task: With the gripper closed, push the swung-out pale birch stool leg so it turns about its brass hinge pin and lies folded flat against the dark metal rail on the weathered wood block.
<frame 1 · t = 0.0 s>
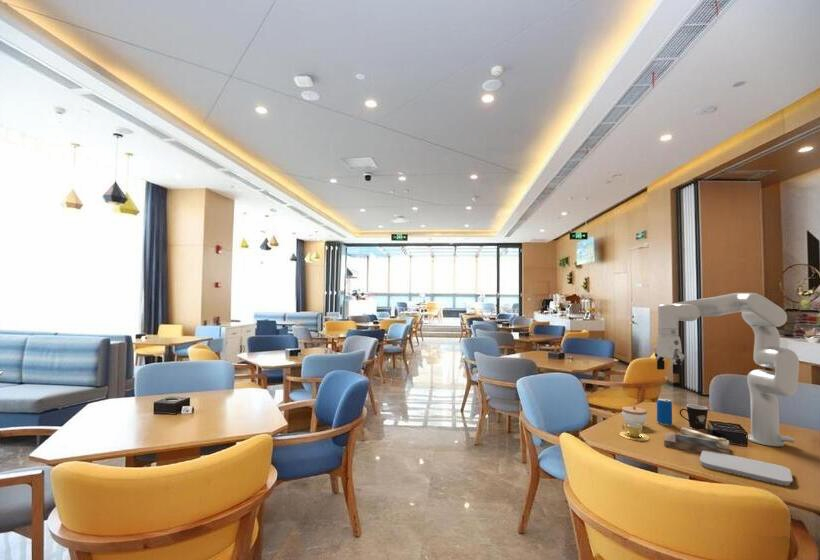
hand: (668, 371, 176), 31 cm above the table, tool pointing down, fingers open, 9 cm apart
weathered wood block: (695, 447, 171), on the table
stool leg: (703, 437, 171), point 5 cm above the table, hinge at -30.0°
beverage can: (664, 424, 203), on the table
cup: (634, 437, 184), on the table
lidded jar: (634, 425, 200), on the table
coffee mug: (693, 427, 198), on the table
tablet: (743, 471, 150), on the table
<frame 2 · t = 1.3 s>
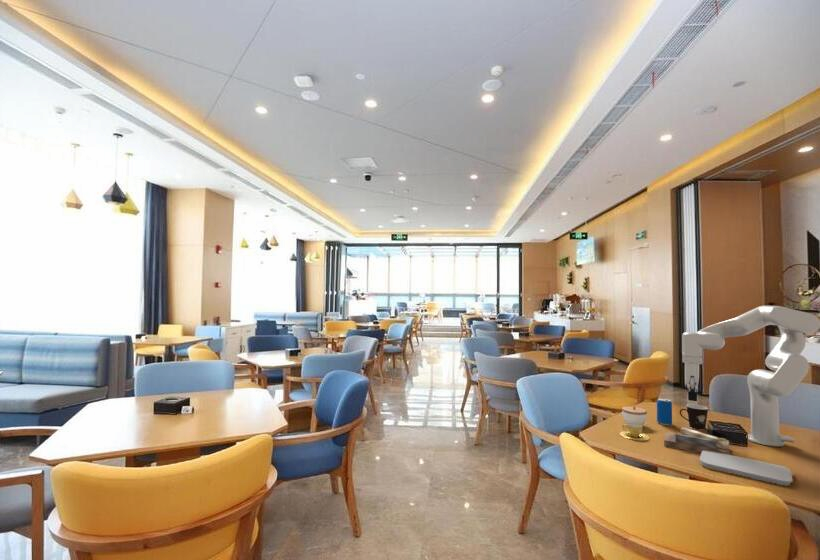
hand: (692, 398, 183), 18 cm above the table, tool pointing down, fingers open, 7 cm apart
nothing on the table moved.
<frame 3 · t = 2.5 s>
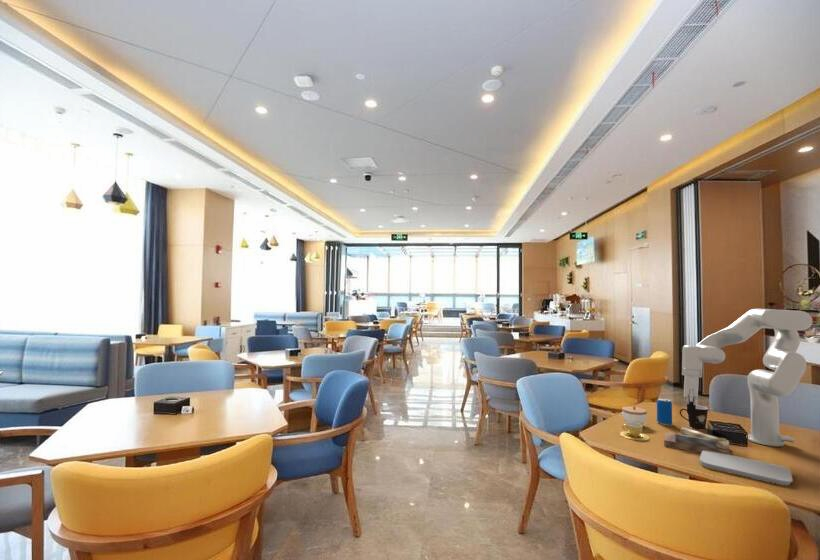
hand: (691, 413, 183), 11 cm above the table, tool pointing down, fingers closed
nothing on the table moved.
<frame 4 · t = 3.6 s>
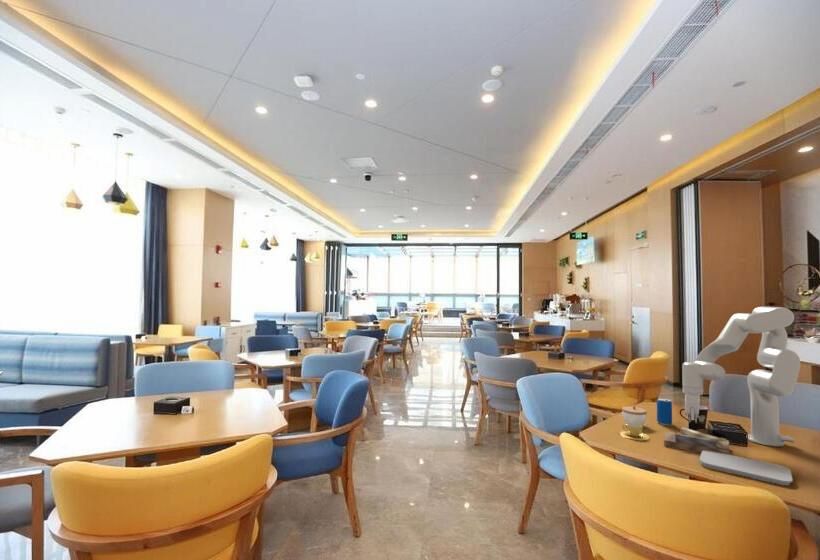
hand: (693, 430, 182), 4 cm above the table, tool pointing down, fingers closed
nothing on the table moved.
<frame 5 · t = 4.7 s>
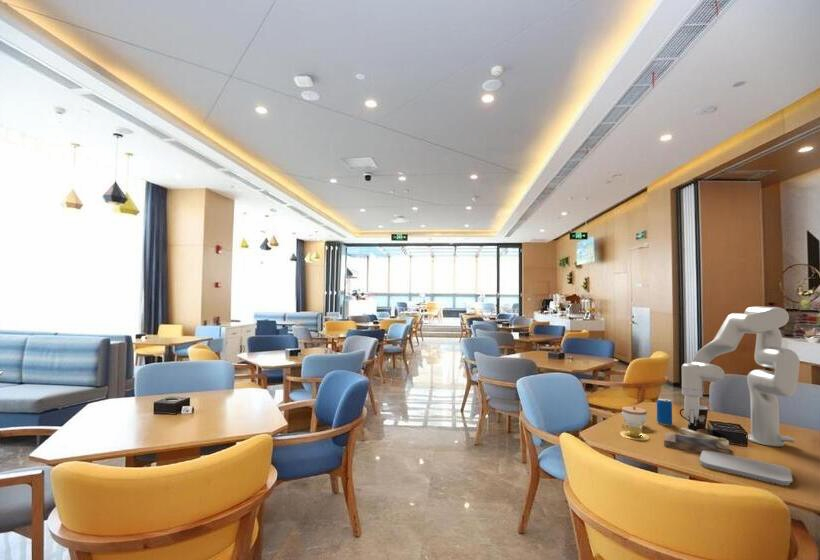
hand: (692, 433, 178), 4 cm above the table, tool pointing down, fingers closed
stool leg: (703, 437, 171), point 5 cm above the table, hinge at -28.0°, touching gripper
everything else where it was.
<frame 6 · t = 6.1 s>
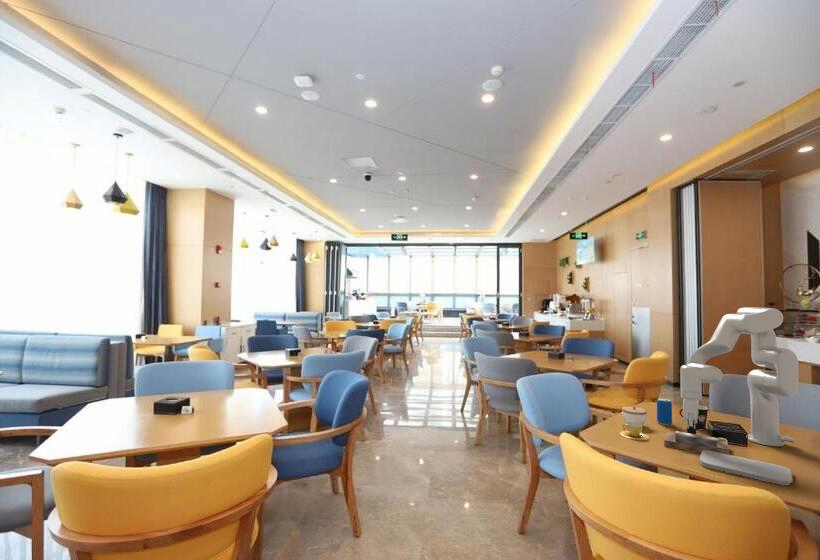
hand: (691, 437, 173), 4 cm above the table, tool pointing down, fingers closed
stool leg: (700, 439, 168), point 5 cm above the table, hinge at 0.4°, touching gripper, weathered wood block
everything else where it was.
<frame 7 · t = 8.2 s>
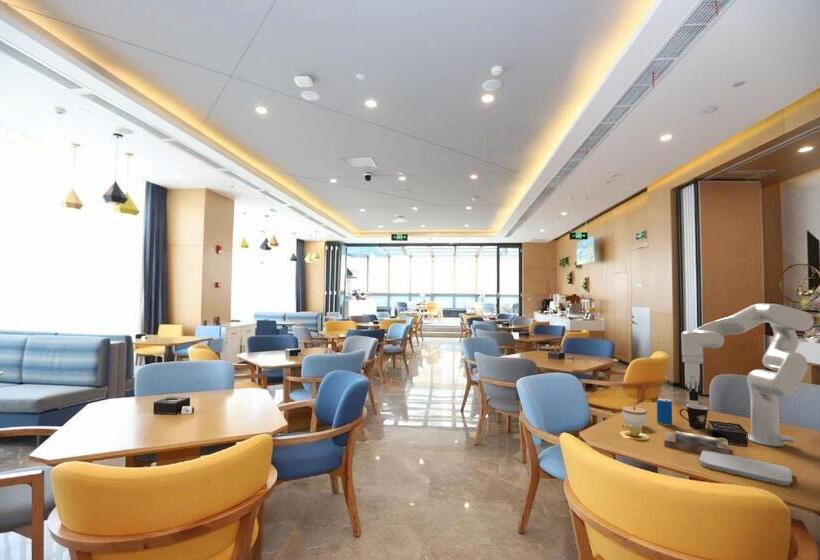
hand: (693, 400, 180), 18 cm above the table, tool pointing down, fingers closed
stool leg: (700, 439, 168), point 5 cm above the table, hinge at 0.4°
everything else where it was.
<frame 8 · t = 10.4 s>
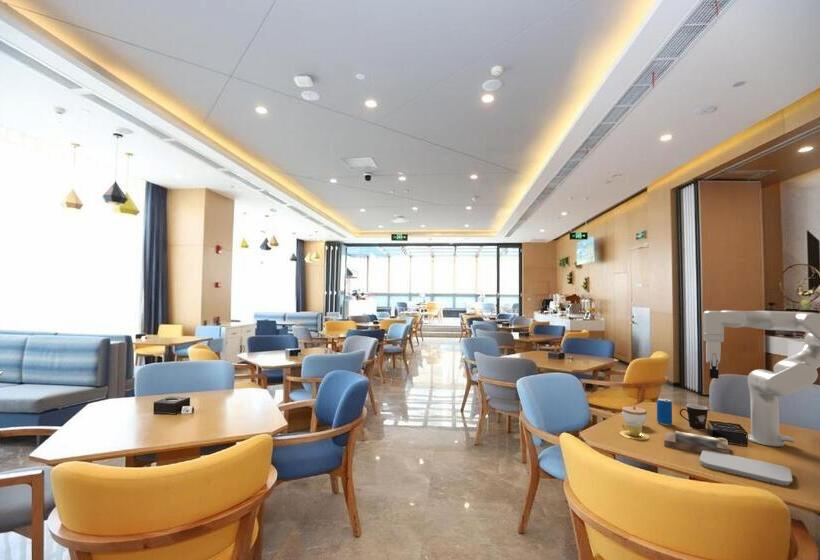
hand: (714, 377, 184), 27 cm above the table, tool pointing down, fingers closed
at the end: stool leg at +0° (first picture: -30°) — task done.
